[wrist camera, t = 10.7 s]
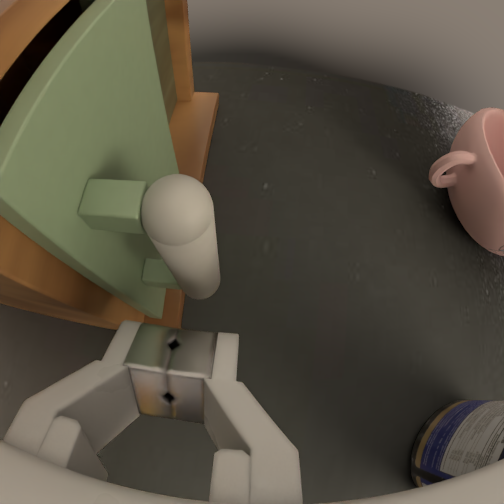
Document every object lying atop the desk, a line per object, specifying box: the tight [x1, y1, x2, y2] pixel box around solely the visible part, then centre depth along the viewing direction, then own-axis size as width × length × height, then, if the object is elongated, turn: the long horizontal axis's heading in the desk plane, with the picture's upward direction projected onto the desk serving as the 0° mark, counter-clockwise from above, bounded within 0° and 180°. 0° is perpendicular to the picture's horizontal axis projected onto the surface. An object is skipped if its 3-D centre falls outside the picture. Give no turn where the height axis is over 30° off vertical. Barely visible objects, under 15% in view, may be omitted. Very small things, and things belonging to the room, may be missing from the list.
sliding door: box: [0, 0, 220, 319], centre depth 9 cm, size 3×6×11 cm, turn 175°
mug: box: [429, 107, 504, 256], centre depth 16 cm, size 12×10×6 cm
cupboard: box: [0, 0, 219, 330], centre depth 10 cm, size 14×15×14 cm
